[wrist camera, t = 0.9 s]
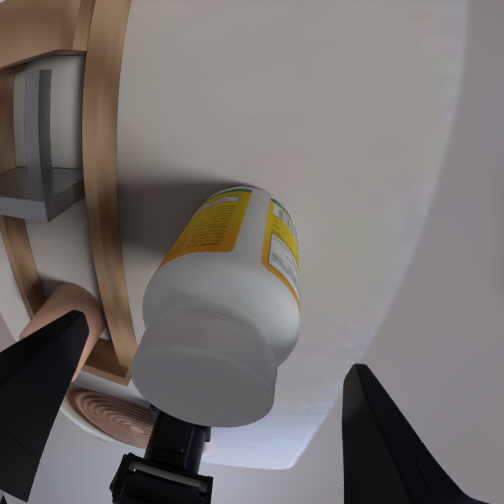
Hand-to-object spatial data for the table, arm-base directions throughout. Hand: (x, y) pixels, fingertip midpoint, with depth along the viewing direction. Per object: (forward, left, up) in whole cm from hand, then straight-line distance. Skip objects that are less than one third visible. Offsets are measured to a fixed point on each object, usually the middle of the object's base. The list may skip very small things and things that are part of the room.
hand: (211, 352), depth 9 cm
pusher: (+5, +12, -8) cm, 15 cm away
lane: (0, +12, -8) cm, 14 cm away
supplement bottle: (0, 0, -8) cm, 8 cm away
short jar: (-9, +12, -8) cm, 17 cm away
